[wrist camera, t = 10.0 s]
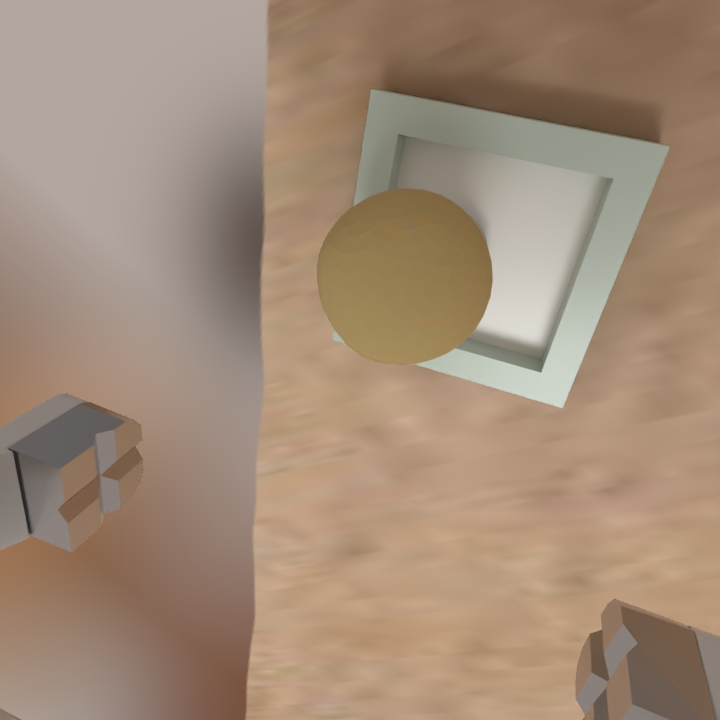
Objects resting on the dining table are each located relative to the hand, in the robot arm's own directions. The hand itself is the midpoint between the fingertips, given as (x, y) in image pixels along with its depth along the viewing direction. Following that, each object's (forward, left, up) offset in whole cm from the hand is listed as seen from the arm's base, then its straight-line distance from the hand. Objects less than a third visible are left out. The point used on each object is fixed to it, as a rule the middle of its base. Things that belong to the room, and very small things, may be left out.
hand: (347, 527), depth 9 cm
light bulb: (+1, 0, -20) cm, 19 cm away
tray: (0, 0, -20) cm, 20 cm away
